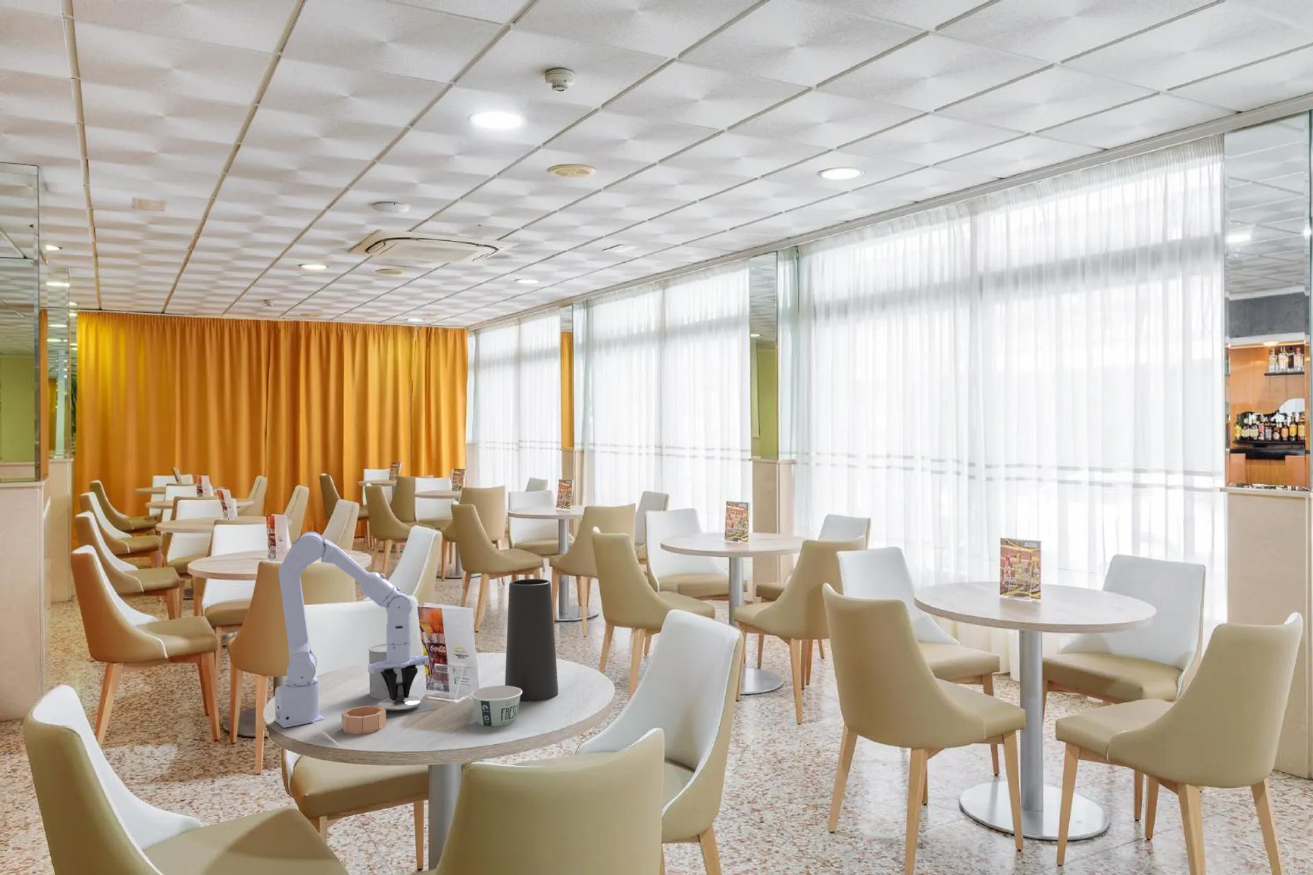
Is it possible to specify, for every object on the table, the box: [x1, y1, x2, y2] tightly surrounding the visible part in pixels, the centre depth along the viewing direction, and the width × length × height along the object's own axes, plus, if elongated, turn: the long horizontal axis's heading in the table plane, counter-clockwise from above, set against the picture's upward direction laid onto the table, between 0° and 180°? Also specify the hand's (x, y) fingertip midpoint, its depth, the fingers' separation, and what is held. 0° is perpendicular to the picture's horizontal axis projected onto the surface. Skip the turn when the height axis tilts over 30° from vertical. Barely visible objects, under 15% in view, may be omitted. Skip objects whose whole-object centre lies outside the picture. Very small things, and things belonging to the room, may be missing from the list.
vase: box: [504, 578, 559, 703], centre depth 241 cm, size 14×14×29 cm
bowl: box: [340, 705, 387, 735], centre depth 214 cm, size 9×9×4 cm
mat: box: [386, 699, 437, 720], centre depth 228 cm, size 14×12×1 cm
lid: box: [377, 682, 421, 711], centre depth 228 cm, size 10×10×5 cm
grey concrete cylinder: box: [368, 643, 402, 700], centre depth 242 cm, size 10×10×12 cm
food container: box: [470, 685, 522, 727], centre depth 220 cm, size 12×12×6 cm
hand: (399, 698), depth 228 cm, fingers closed on lid, 3 cm apart
